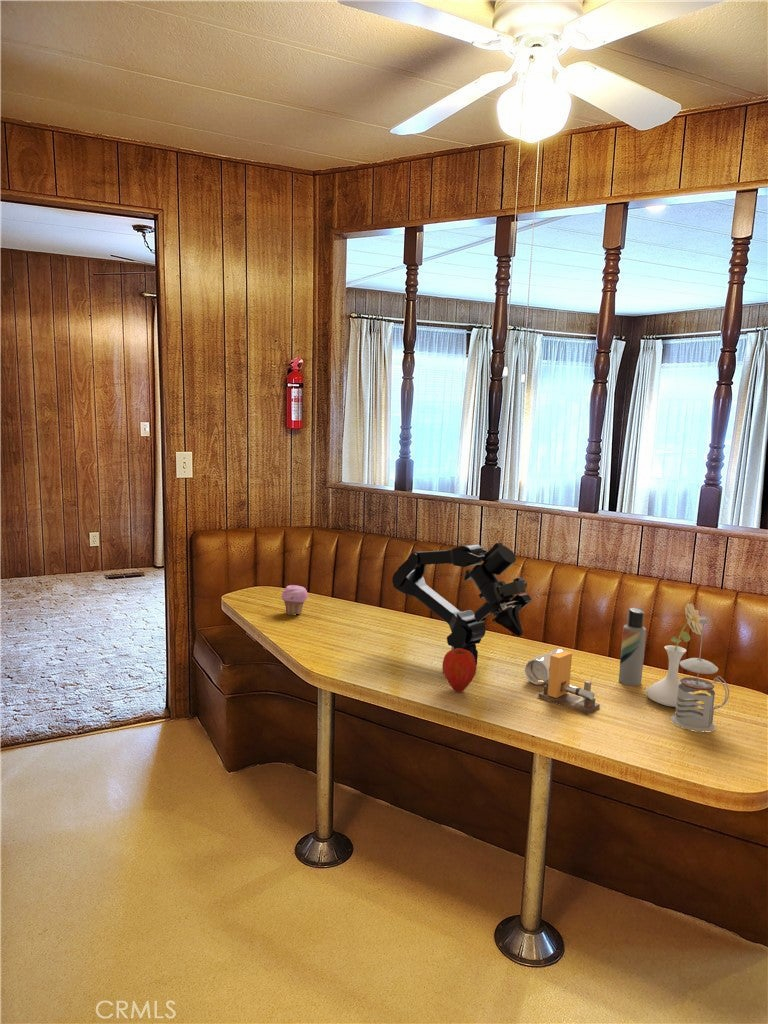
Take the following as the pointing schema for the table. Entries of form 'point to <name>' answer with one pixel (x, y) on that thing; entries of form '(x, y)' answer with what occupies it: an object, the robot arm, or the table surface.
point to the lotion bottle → (632, 649)
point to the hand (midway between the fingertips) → (521, 635)
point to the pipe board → (573, 700)
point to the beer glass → (539, 667)
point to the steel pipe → (575, 690)
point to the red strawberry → (459, 668)
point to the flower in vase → (675, 663)
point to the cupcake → (294, 599)
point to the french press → (697, 695)
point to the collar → (559, 673)
